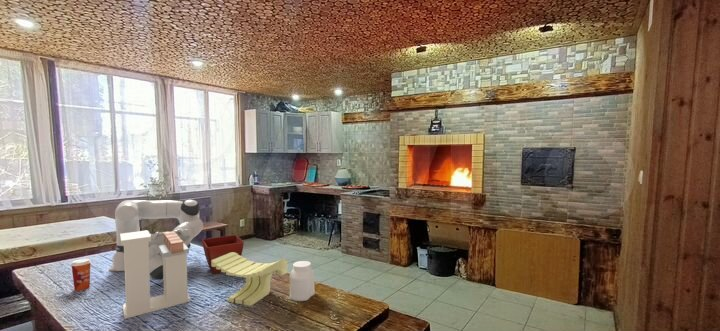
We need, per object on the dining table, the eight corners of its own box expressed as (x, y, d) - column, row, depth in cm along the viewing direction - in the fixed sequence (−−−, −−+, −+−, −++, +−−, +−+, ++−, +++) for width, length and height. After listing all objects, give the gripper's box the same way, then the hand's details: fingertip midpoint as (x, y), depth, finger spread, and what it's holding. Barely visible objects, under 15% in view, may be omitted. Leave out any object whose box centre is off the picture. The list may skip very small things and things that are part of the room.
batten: (163, 242, 153) (163, 232, 153) (174, 240, 156) (174, 231, 156) (171, 254, 134) (171, 243, 134) (183, 252, 137) (183, 241, 137)
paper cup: (80, 292, 153) (78, 263, 152) (67, 291, 154) (66, 262, 154) (96, 285, 160) (95, 258, 160) (84, 284, 162) (83, 257, 161)
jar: (304, 302, 141) (304, 269, 140) (286, 299, 144) (286, 266, 144) (317, 292, 151) (317, 261, 151) (300, 288, 155) (299, 258, 154)
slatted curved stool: (287, 293, 150) (287, 256, 149) (266, 309, 135) (266, 268, 134) (236, 284, 160) (236, 250, 160) (212, 298, 145) (211, 260, 145)
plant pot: (244, 270, 180) (244, 241, 179) (208, 278, 169) (207, 247, 168) (236, 261, 195) (236, 234, 195) (202, 268, 185) (201, 239, 184)
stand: (122, 306, 139) (120, 233, 137) (184, 290, 154) (182, 225, 152) (124, 319, 128) (121, 240, 126) (190, 301, 143) (188, 231, 141)
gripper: (140, 238, 157) (142, 229, 147) (187, 232, 170) (191, 223, 160) (141, 251, 155) (143, 242, 145) (188, 243, 167) (192, 235, 158)
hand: (168, 232), depth 152 cm, fingers open, 8 cm apart
